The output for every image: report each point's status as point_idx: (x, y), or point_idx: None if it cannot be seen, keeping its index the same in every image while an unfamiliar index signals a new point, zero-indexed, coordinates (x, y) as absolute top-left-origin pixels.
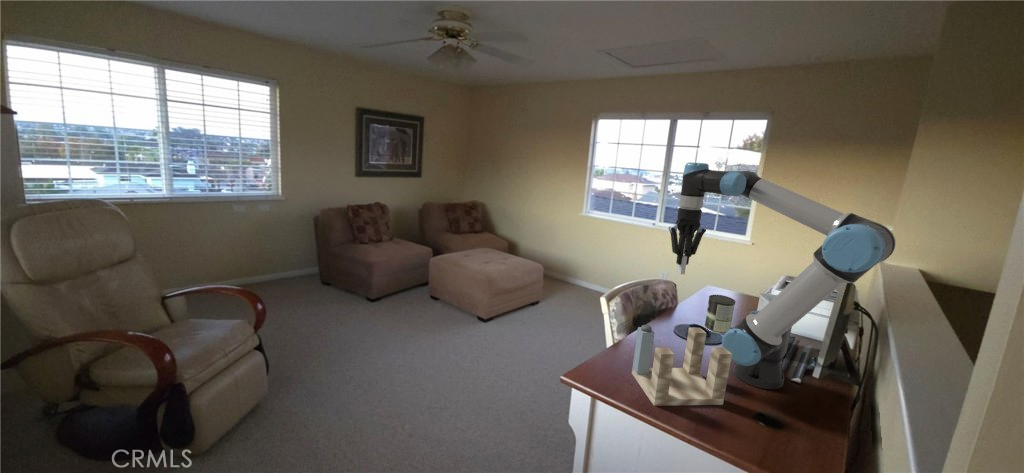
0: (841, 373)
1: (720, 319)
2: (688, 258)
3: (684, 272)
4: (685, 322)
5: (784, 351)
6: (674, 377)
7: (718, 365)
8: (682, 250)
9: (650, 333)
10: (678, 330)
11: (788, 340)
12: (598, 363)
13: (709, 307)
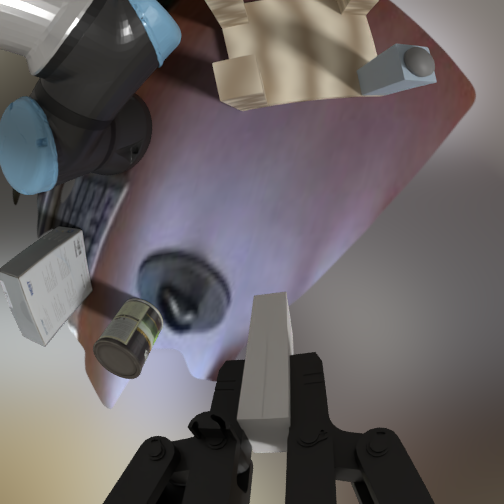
0: (15, 192)
1: (130, 318)
2: (216, 409)
3: (256, 304)
4: (195, 338)
5: (54, 230)
6: (300, 62)
7: None
8: (309, 485)
9: (406, 45)
10: (218, 305)
11: (39, 239)
12: (435, 135)
13: (144, 348)
